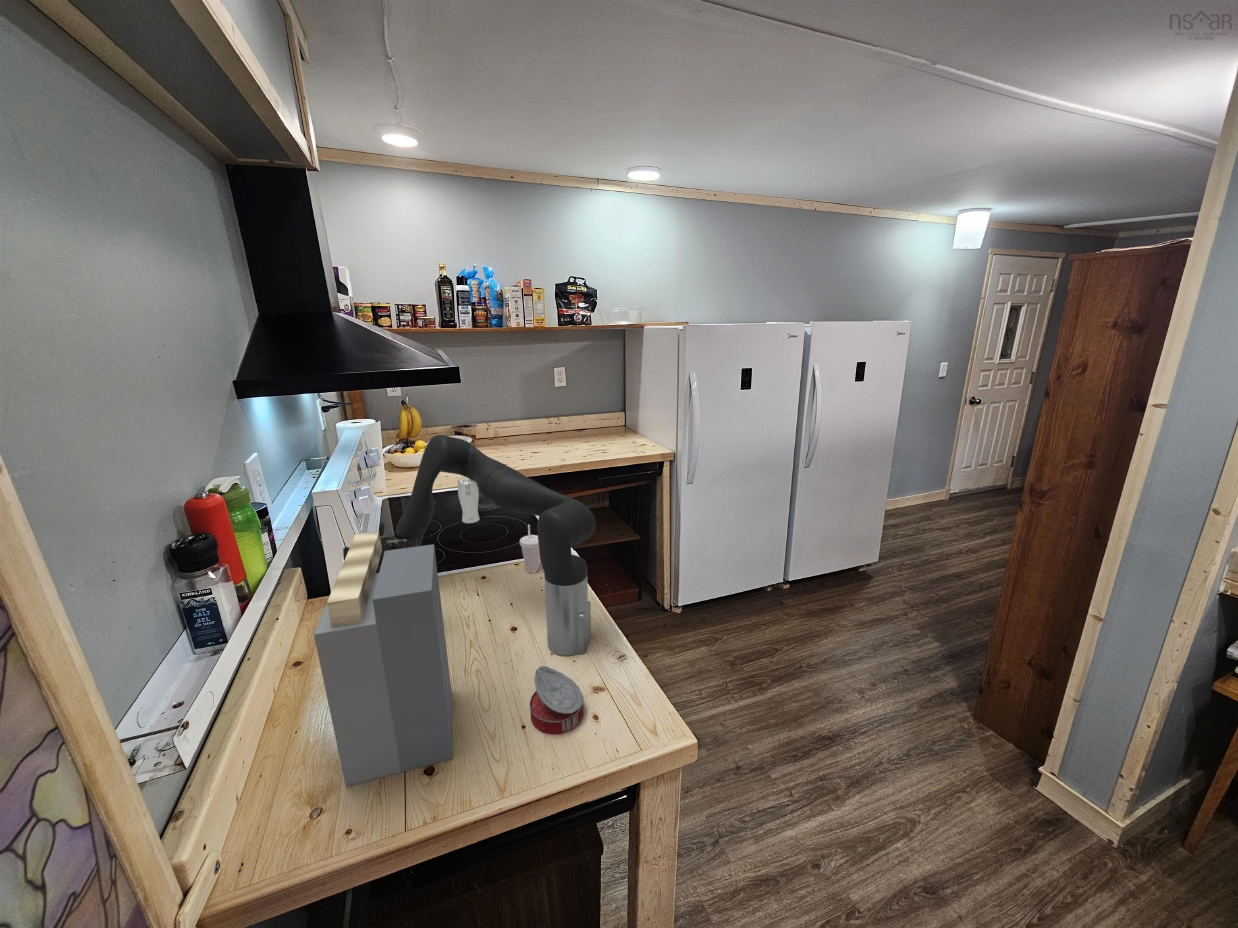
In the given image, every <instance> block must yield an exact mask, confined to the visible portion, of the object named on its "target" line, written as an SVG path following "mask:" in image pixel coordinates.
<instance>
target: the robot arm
mask: <svg viewBox="0 0 1238 928" xmlns="http://www.w3.org/2000/svg"><path fill="white" fill-rule="evenodd" d="M440 473H447V474H454V475H460V476H462V477H464V478H469V479H471V480H473V481H474V482H476V483H477V487H478V491H479V494H481V495H482V496H483V497H484V498H485V499H486V500H488V501H489V502H491V503H492V504H494V505H496V506H497V507H499V508H500V509H503V510H504V511H508V512H512V513H516V514H517V513H518V514H523V515H524V514H525V515H531V516H537V517H538V519H537V523H536V525H537V526H536V530H537V531H536V532H537V536H538V543H539V552H540V565H541V566H542V570H543V575H544V594H545V595H544V596H545V612H546V613H545V615H546V617H545V618H546V634H547V635H546V636H547V637H546V638H547V647H548V650H550V651H551V652H552V653H553V654H556V655H559V656H564V657H567V656H574V655H578V654H582V655H583V654H586V651H587V648H588V646H589V643H590V641H591V638H592V614H591V613H592V612H591V610H592V609H591V607H592V604H591V600H590V601H589V600H588V599H589V598H588V597H589V596H588V595H589V593H588V590H589V589H588V588H589V587H588V564H587V561H586V560H585V559H584V558H583V557H581V556H578V555H576V554H572V548H574V547H575V546H577V545H579V544H581V543H583V542H585V541H586V540H588V539H589V538H591V537H592V536H593V535H594V532H595V531H596V529H597V523H596V517H595V516H594V514H593V512H592V511H591V509H590V508H589V507H588V506H586V504H584V503H583V502H581V501H579V500H577V499H575V498H573V497H571V496H569V495H565V494H562V493H559V492H558V491H555V490H553V489H550V488H548V487H546V486H545V485H543V484H541V483H539V482H537V481H535V480H534V479H532V478H529V477H528V476H527V475H525V474H523V473H521V472H520V471H518V470H516V469H515V468H512V467H511V466H509V465H507V464H504V463H503V462H500V461H498V460H496V459H494V458H492V457H489V456H487V455H486V454H485V453H483V452H482V451H481V450H479V448H477V447H476V446H475V445H474V444H472V443H470V442H469V441H467V440H465V439H462V438H458V437H453V436H449V435H445V434H444V435H443V434H436V435H433V437H431V438H430V439H429V441H428V442H427V443H426V446H425V448H424V451H423V453H422V457H421V460H420V464H419V467H418V470H417V473H416V477H415V480H414V484H413V487H412V491H411V494H410V497H409V499H408V501H407V505H406V507H405V509H404V511H403V513H402V515H401V517H400V519H399V521H398V523H397V525H396V527H395V535H396V536H394V535H392V534H381V535H380V541H381V547H382V553H381V556H380V560H379V563H378V567H377V568H381V564H382V560H383V556H384V552H385V551H388V550H396V549H403V548H411V547H418V546H422V540H423V538H424V536H425V533H426V531H427V529H428V527H429V525H430V523H431V521H432V518H433V516H434V511H435V505H434V497H433V496H434V495H433V488H434V484H435V481H436V479H437V477H438V476H439V475H440ZM349 549H350V547H348V546H345V547H343V548H342V550H343V551H342V552H343V553H342V554H343V555H342V556H343V561H345V558H346V556H347V553H348V551H349Z"/></svg>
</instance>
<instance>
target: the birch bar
mask: <svg viewBox="0 0 1238 928" xmlns="http://www.w3.org/2000/svg"><path fill="white" fill-rule="evenodd" d="M380 536H381V535H380V531H371V532H365V533H364V532H363V533H356V534H355V535H354V537H353V539H352V542H351V544H350V549H349V551H348V553H347V556H346V558H345V560H343V564H342V566H341V568H340V571H339V573H338V575H337V578H336V579H335V582H334V585H333V587H332V589H331V592H330V595H329V596H328V598H327V602H326V604H327V606H328V611H329V617H330V622H331V627H336V626H342V625H348V624H353V623H359V622H362V621H363V618H364V614H365V611H366V607H367V603H368V600H369V596H370V592H371V589H372V585H373V582H374V578H375V574H376V573H377V570H378V568H379V567H378V563H379V560H380V556H381V553H382V547H381V541H380Z"/></svg>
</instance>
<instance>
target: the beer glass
mask: <svg viewBox="0 0 1238 928" xmlns="http://www.w3.org/2000/svg"><path fill="white" fill-rule="evenodd" d="M457 494H458V499H459V502H460V503H459V504H460V507H461V510H462V517H461V518H462V519H461V521H462V522H463V523H464V524H473V523H477V522H479V521H480V515H479V508H478V507H479V497H480V496H479V494H480V491H479V489H478V487H477V483H476V482H474V481H473V480H471V479H469V478H467V477H464V478H460V479H459V480H457Z"/></svg>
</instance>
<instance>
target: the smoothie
mask: <svg viewBox="0 0 1238 928" xmlns="http://www.w3.org/2000/svg"><path fill="white" fill-rule="evenodd" d="M527 529H528V530H527V534H528V535H524V536H523V537H521V538H520V539H519V545H520V546H521V547H520V548H521V552H522V556H523V557H522V558H523V562H524V566H525V567H524V568H525V571H526V572H527V573H528V572H535V571H537V570H538V569H539V570H540V564H541V561H540V552H539V543H538V534H537V535H535V534H531V525H530V524H528V525H527ZM537 572H538V571H537ZM535 573H536V572H535Z"/></svg>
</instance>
